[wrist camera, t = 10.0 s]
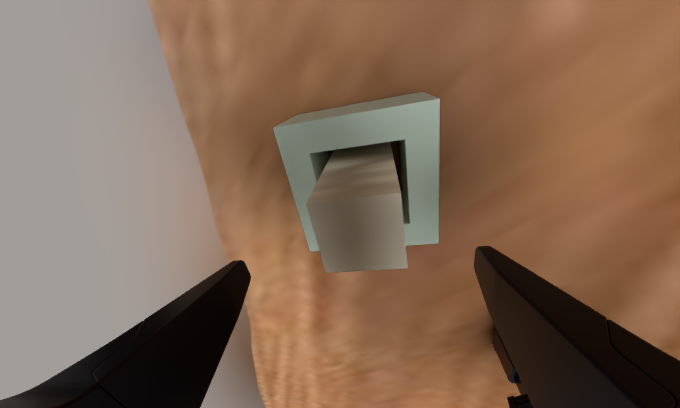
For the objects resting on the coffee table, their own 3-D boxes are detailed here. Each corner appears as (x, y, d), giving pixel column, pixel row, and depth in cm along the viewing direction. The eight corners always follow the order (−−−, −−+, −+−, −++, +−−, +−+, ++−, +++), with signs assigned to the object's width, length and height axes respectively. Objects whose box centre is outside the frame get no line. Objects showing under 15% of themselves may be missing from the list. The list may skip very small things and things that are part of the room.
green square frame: (422, 91, 16) (439, 98, 12) (425, 207, 21) (438, 243, 16) (297, 114, 18) (272, 127, 14) (322, 216, 23) (310, 251, 18)
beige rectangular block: (388, 135, 18) (400, 192, 10) (393, 183, 20) (407, 268, 11) (337, 143, 19) (305, 204, 10) (346, 189, 21) (326, 272, 12)
